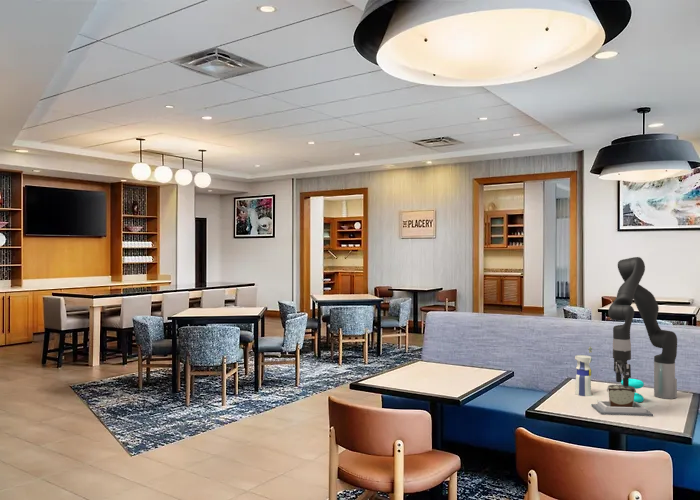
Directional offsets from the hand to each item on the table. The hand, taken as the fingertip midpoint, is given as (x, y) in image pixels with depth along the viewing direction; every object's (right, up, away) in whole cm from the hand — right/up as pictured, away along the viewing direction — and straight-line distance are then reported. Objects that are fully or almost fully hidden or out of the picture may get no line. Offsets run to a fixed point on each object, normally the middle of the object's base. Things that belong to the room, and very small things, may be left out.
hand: (622, 384), depth 259 cm
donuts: (+14, -13, +19) cm, 26 cm away
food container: (0, -11, +2) cm, 12 cm away
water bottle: (-5, -13, +31) cm, 34 cm away
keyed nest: (0, -12, 0) cm, 12 cm away
